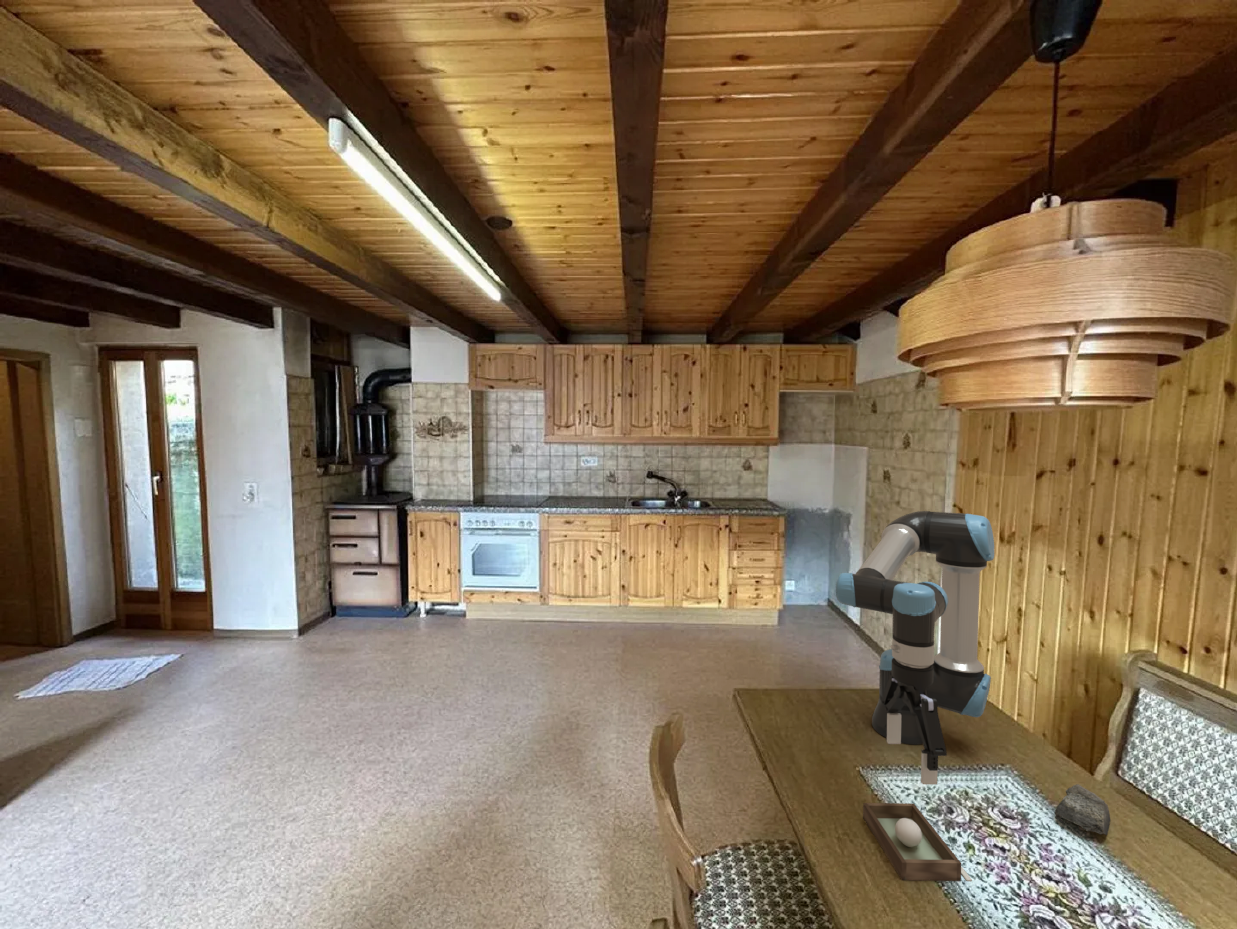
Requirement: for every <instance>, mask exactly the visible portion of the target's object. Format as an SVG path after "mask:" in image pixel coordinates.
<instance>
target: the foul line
mask: <svg viewBox="0 0 1237 929" xmlns="http://www.w3.org/2000/svg"><path fill="white" fill-rule="evenodd" d="M961 877H963V878H964V879H965V881H967V882H972V881H973V879H972V878H971V876H970V875H969V874H968V873H967V871H966V870H965V869H964V868H963V867H962V866H961Z"/></svg>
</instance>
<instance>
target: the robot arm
mask: <svg viewBox="0 0 1237 929" xmlns="http://www.w3.org/2000/svg"><path fill="white" fill-rule="evenodd" d="M880 537H881V540H880V541H879V542H878V544H877V545H876V546H875V548H874V549H873V550H872V552H870V554H869V556H868V557H867V558H866V560H865V561H864V562H863V563H862V565H861V566H860V567H859V568H858V570H857V571H856V572H855V573H853V572H841V573H840V574H839V575H838V577H837V579H836V583H835V597H836V600H837V601H838V603H840V604H842V605H846V606H848V607H849V606H851V607H853V608H860V609H864V610H869V611H874V612H881V613H885V614H889V615H892V627H891V628H892V638H891V639H892V642H891V643H892V644H891V645H890V648H889V649H886V650H884V651H883V652H882V653H881V655H880V659H879V665H878V669H879V684H878V685H879V688H878V689H879V691H878V692H879V697H878V702H877V704H876V706H875V709H874V711H873V714H872V717H871V725H872V728H873V729H874V730H875V732H876V733H878V734H879V735H881V736H883V737H884V738H886V743H887V744H888V745H901V744H906V745H922V746H923V748H924V749H923V748H922V749H921V750H920V752H921V756H920V757H921V760H920V761H921V762H920V767H921V768H920V770H921V771H920V783H921V784H922V785H932V786H933V785H938V774H939V773H938V770H939V757H947V755H948V754H947V749H946V748H947V747H946V744H945V739H944V735H943V731H942V726H941V721H940V716H939V712H938V711H939V709H938V708H940V709H944V710H947V711H950V712H953V713H956V714H959V715H961V716H963V715H965V716H969V717H973V718H980V717H981V716H982V715H983V714H984V711H985V708H986V705H987V701H988V696H989V692H990V689H991V688H990V687H991V681H992V680H991V679H992V677H991V675H989V674H987V673H985V667H984V665H983V664H982V662H980V660H978V648H979V647H978V645H979V604H980V574H981V573H980V572H981V571H983V570H984V569H986V568H987V567H988V566H987V565H988V562H992V561H993V560H994V559H995V540H994V532H993V529H992V525H991V522H990V519H988V518H987V517H986V516H983V515H978V514H971V513H960V512H959V513H957V512H945V511H944V512H943V511H930V510H920V511H919V510H918V511H913V512H910V513H907V514H905V515H902V516H900V517H897V518H895V519H894V520H893V521H891V522H890V523H888V525H887V526H886V527H885V528H884V529H883V531H882V533H881V536H880ZM915 553H927V554H931V555H933V554H934V555H935V562H936V563H937V565H939V566H940V568H941V586H940V585H938V583H934V582H931V581H921V582H917V583H914V582H906V581H901V580H894V579H895V577H896V576H897V574H898V573H899V571H900V570H901V568H902V567H903V565H904V564H905V562H906V560H907V559H908V557H911V556H912V555H914V554H915ZM939 618H940V634H939V635H940V636H939V637H940V639H939V641H940V643H939V646H940V647H939V649H940V650H939V653H936V654H935V624H936V622H937V621H938V620H939Z"/></svg>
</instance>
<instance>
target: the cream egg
mask: <svg viewBox="0 0 1237 929" xmlns="http://www.w3.org/2000/svg"><path fill="white" fill-rule="evenodd" d="M895 834H896V836H897V837H898V839H899V840H900V841H901V842H902V843H903V844H904V845H905V846H907V847H914V846H917V845H919V844H920V842H921V840H922V832H921V829H920V828H919V826H918V825H917V824H916V823H915V822H914V821H912V820H910V819H907V818H902V819H900V820H898V822H897V823H896V825H895Z"/></svg>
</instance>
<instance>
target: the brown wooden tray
mask: <svg viewBox="0 0 1237 929" xmlns="http://www.w3.org/2000/svg"><path fill="white" fill-rule="evenodd" d="M862 804H863V805H862V808H863V809H862V819H863V821H864V822H865V823H866V825H867V827H868V829H869V830H870V832H871V833H872V834H873V836H874V839H875V840H876V841H877V843H878V844H879V846H880V847H881V849H882V851H883V852H884V854H885V856H886V857H887V859H888V861H889V862H890V864H891V865H892V866H893V868H894V870H895V871H896V873H897V874H898V876H899V878H900V879H901V881H927V882H928V881H931V882H932V881H935V882H937V881H939V882H943V881H945V882H948V881H951V882H961V881H962V874H961V867H962V862H961V861H960V860H959V858H958V857H957V856H956V855H955V853H954V852H953V851H952V850H951V848H950V847H949V846H948V844H947V843H946V842H945V840H944V839H943V838H942V836H940V834H939V833H938V832H937V830H936V829H935V828H934V827H933V825H931V823H930V822H929V821H928V819H927V818H926V816H924V814H923V813H922V811H920V809H919V808H918V806H917V805H916V804H915V803H904V802H903V803H901V802H899V803H898V802H897V803H896V802H894V803H893V802H886V803H885V802H863V803H862ZM902 818H907V819H910V820H912V821H914V822H915V823H916V824H917V825H918V826H919V828H920V829H921V832H922V840H921V842H920V844H919V845H917V846H914V847H907V846H905V845H904V844H903V843H902V842H901V841H900V840H899V839H898V837H897V836H896V834H895V825H896V823H897V822H898V820H900V819H902Z"/></svg>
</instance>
